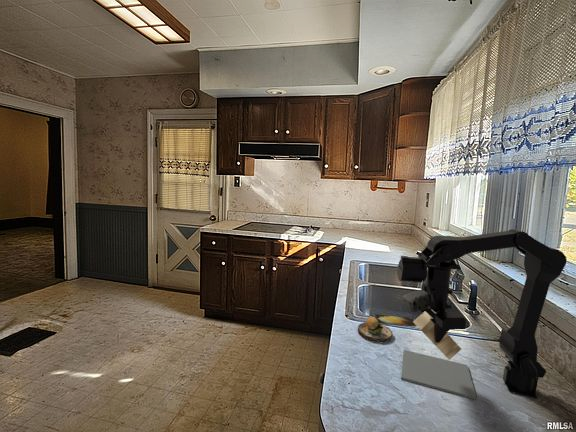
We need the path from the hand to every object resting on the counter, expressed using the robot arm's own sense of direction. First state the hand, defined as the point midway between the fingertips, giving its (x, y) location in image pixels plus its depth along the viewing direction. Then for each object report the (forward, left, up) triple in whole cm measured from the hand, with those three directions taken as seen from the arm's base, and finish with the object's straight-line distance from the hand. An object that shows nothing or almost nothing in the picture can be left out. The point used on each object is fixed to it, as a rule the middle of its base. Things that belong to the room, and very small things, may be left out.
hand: (432, 337), depth 86 cm
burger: (+17, -18, -13) cm, 28 cm away
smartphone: (+11, -32, -13) cm, 36 cm away
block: (-5, -2, -4) cm, 7 cm away
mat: (-2, -3, -12) cm, 13 cm away
